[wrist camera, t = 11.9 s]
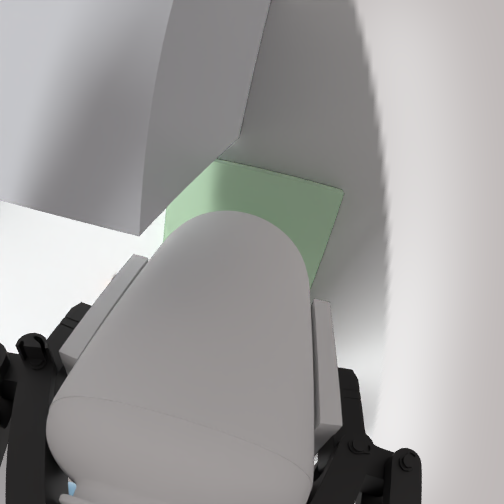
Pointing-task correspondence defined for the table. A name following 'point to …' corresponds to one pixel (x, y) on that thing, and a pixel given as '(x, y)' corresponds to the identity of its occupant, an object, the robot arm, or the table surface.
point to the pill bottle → (197, 377)
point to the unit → (120, 101)
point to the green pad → (263, 204)
